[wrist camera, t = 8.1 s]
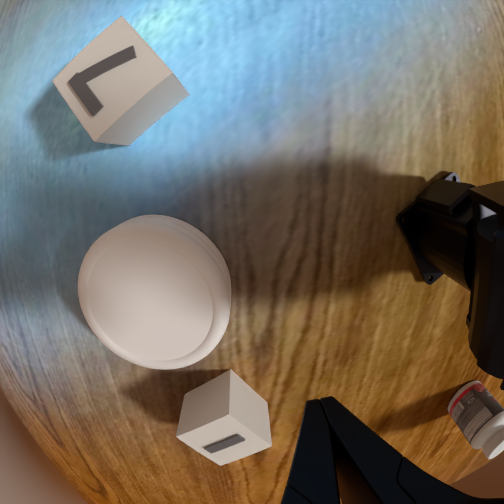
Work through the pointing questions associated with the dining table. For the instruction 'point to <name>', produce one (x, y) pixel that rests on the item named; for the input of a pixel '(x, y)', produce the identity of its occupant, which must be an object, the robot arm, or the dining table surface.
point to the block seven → (119, 86)
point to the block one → (224, 419)
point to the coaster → (156, 292)
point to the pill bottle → (479, 418)
